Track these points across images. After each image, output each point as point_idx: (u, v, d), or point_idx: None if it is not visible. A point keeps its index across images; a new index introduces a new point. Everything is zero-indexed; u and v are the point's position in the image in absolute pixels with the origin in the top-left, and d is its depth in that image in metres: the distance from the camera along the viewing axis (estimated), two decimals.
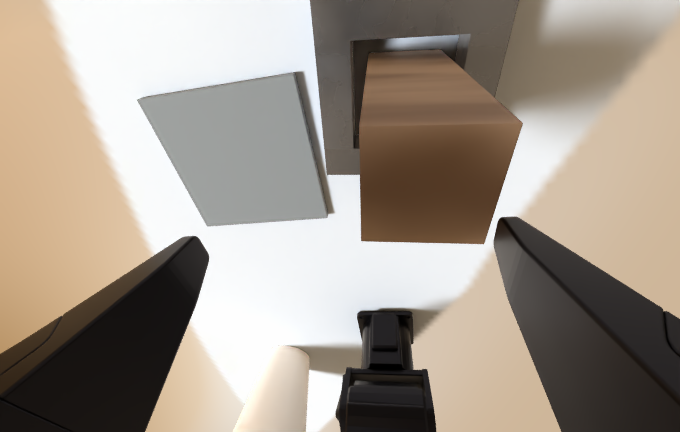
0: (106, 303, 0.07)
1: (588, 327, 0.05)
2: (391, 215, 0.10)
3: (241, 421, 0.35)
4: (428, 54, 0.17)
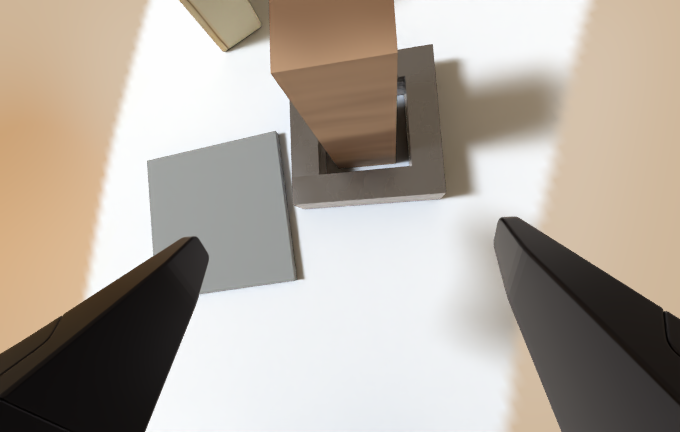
0: (106, 303, 0.07)
1: (588, 327, 0.05)
2: (298, 35, 0.10)
3: None
4: None
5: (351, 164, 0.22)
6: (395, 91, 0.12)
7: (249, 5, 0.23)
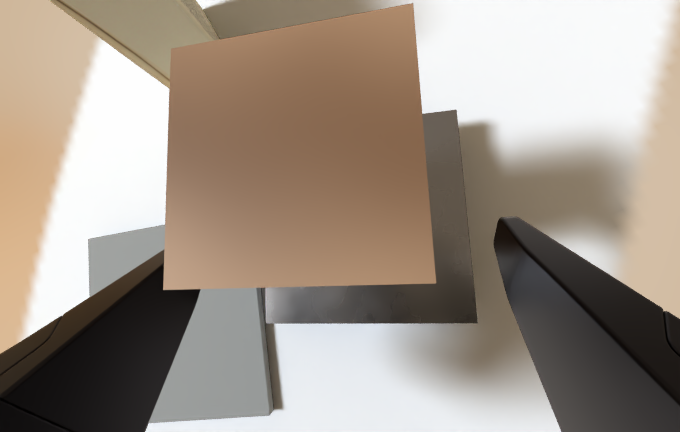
0: (106, 303, 0.07)
1: (588, 327, 0.05)
2: (221, 213, 0.05)
3: None
4: None
5: None
6: None
7: None
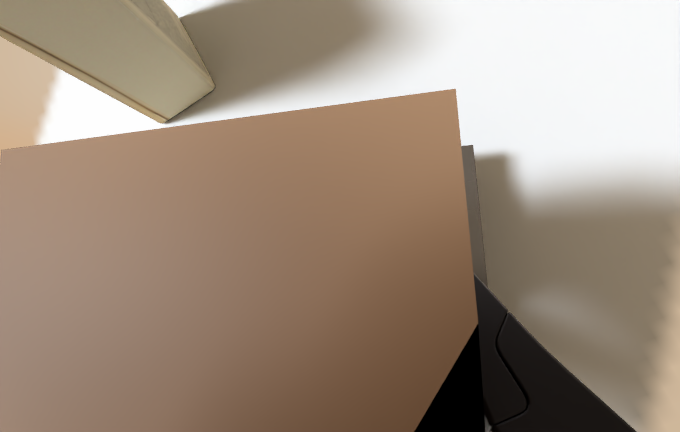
0: None
1: None
2: None
3: None
4: None
5: None
6: None
7: (190, 65, 0.16)
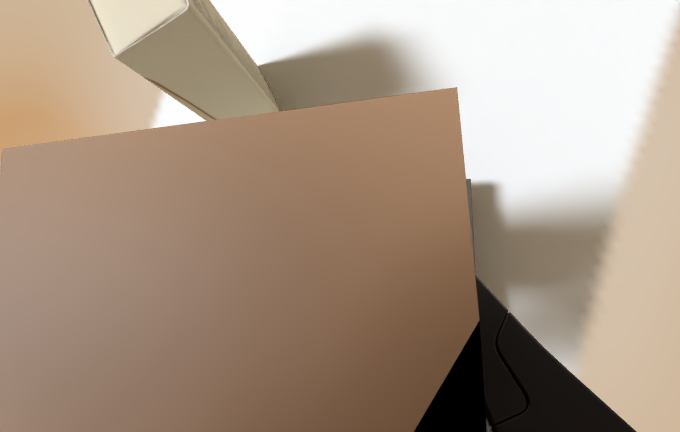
0: None
1: None
2: None
3: None
4: None
5: None
6: None
7: (274, 109, 0.22)
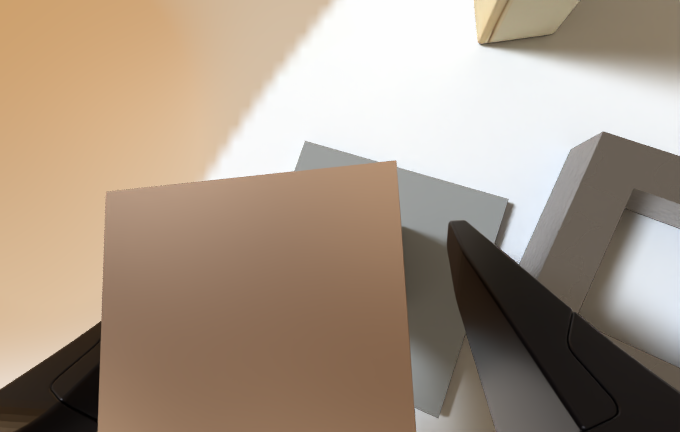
0: None
1: (505, 327, 0.05)
2: (161, 415, 0.04)
3: None
4: None
5: None
6: None
7: (578, 1, 0.14)
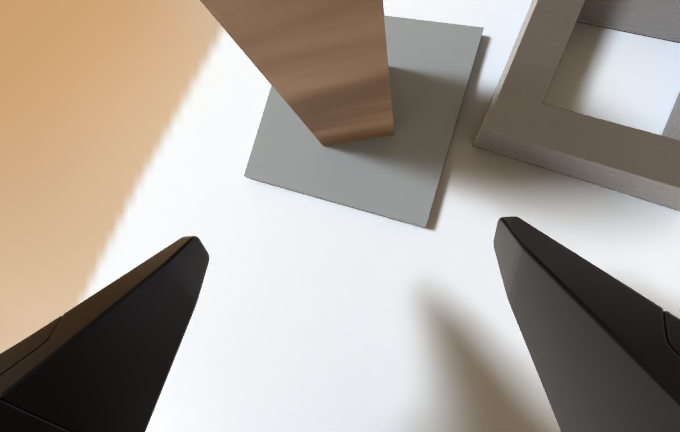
0: (106, 303, 0.07)
1: (588, 327, 0.05)
2: None
3: None
4: None
5: (338, 138, 0.17)
6: None
7: None
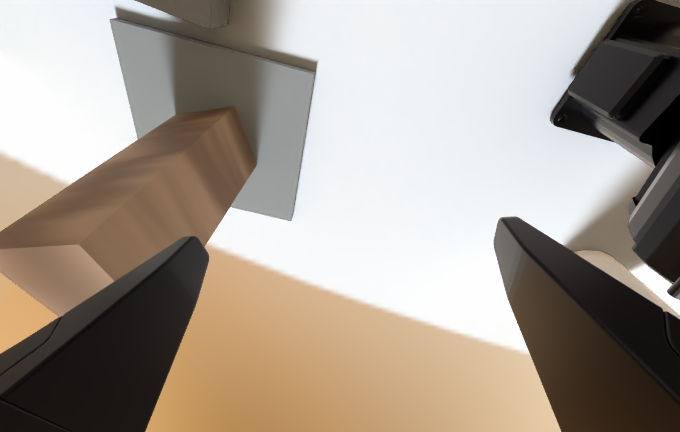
0: (106, 303, 0.07)
1: (588, 327, 0.05)
2: None
3: None
4: None
5: (247, 156, 0.21)
6: (130, 200, 0.11)
7: None
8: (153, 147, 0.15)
